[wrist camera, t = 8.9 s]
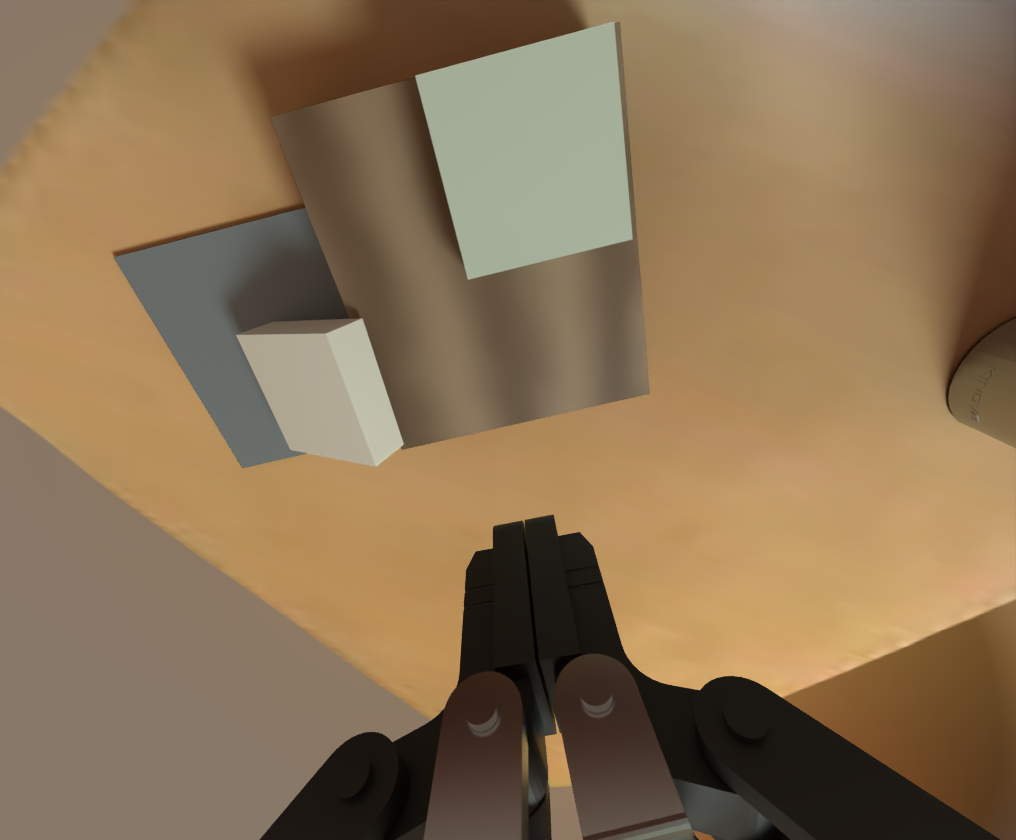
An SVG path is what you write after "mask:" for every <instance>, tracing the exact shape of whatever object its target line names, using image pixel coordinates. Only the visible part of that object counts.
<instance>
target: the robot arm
mask: <svg viewBox="0 0 1016 840" xmlns="http://www.w3.org/2000/svg"><path fill="white" fill-rule="evenodd" d="M948 400H949V408H950V410H951V412H952V414H953V416H954V417H955V418H956V419H957V420H958V421H959V422H961V423H963V424H965V425H967V426H970V427H972V428H974V429H976V430H978V431H980V432H982V433H984V434H987V435H989V436H991V437H993V438H995V439H997V440H999V441H1002V442H1004V443H1006V444H1008V445H1010V446H1012V447H1014V448H1016V318H1015V319H1013V320H1011V321H1009V322H1007V323H1006V324H1004V325H1002V326H1000V327H998V328H997V329H996V330H994V331H993V332H992V333H990V334H989V335H988V336H986V337H985V338H984V339H983V340H982V341H980V342H979V343H978V344H977V345H976V346H975V347H974V348H973V349H972V350H971V351H970V353H969V354H968V355H967V356H966V358H965V359H964V360H963V361H962V363H961V365H960V366H959V368H958V370H957V371H956V373H955V375H954V377H953V380H952V383H951V385H950V390H949V396H948ZM554 714H555V716H554ZM555 717H556V721H557V724H558V728H559V731H560V733H562V738H563V743H564V748H565V753H566V758H567V763H568V768H569V773H570V778H571V783H572V788H573V793H574V798H575V803H576V808H577V813H578V817H579V822H580V828H581V832H582V837H583V840H699V839H698V838H697V837H696V836H695V834H694V832H693V830H695V831H699V832H702V833H705V834H709V835H711V836H712V837H713V838H714V839H715V840H1000V839H998V838H997V837H995V836H993V835H992V834H991V833H989V832H988V831H986V830H984V829H983V828H982V827H980V826H978V825H977V824H975V823H974V822H972V821H971V820H969V819H967V818H966V817H965V816H963V815H962V814H960V813H958V812H957V811H955V810H954V809H952V808H951V807H949V806H948V805H946V804H944V803H943V802H941V801H940V800H938V799H937V798H935V797H934V796H932V795H930V794H929V793H927V792H926V791H924V790H923V789H921V788H920V787H918V786H917V785H915V784H914V783H912V782H911V781H909V780H907V779H906V778H905V777H903V776H901V775H900V774H898V773H897V772H895V771H893V770H892V769H891V768H889V767H888V766H886V765H884V764H883V763H881V762H880V761H878V760H877V759H875V758H874V757H872V756H870V755H869V754H868V753H866V752H864V751H863V750H861V749H860V748H858V747H857V746H855V745H854V744H852V743H851V742H849V741H847V740H846V739H844V738H842V737H841V736H840V735H838V734H837V733H835V732H834V731H832V730H831V729H829V728H827V727H826V726H824V725H823V724H821V723H820V722H818V721H817V720H815V719H814V718H812V717H811V716H809V715H807V714H806V713H804V712H803V711H801V710H800V709H798V708H797V707H795V706H794V705H792V704H791V703H789V702H787V701H786V700H784V699H783V698H781V697H780V696H778V695H777V694H775V693H774V692H772V691H770V690H769V689H767V688H766V687H764V686H762V685H761V684H759V683H757V682H754V681H752V680H749V679H746V678H742V677H735V676H724V677H720V678H716V679H714V680H711V681H710V682H708V683H707V684H705V685H704V686H703V688H702V689H701V690H694V689H689V688H683V687H678V686H672V685H667V684H663V683H660V682H658V681H655V680H653V679H651V678H649V677H647V676H646V675H644V674H643V673H641V672H640V671H639V670H638V669H637V668H636V667H635V666H634V665H633V664H632V663H631V662H630V660H629V659H628V657H627V656H626V654H625V652H624V650H623V647H622V644H621V641H620V637H619V634H618V630H617V627H616V624H615V620H614V617H613V613H612V610H611V606H610V603H609V600H608V596H607V593H606V589H605V586H604V583H603V579H602V576H601V572H600V569H599V566H598V562H597V559H596V555H595V552H594V548H593V546H592V545H591V544H590V543H589V542H588V541H587V540H586V538H585V537H584V536H583V535H582V534H581V533H580V532H577V533H572V534H567V535H561V536H558V534H557V529H556V524H555V519H554V515H548V516H543V517H538V518H533V519H527V520H525V526H524V523H523V521H518V522H512V523H507V524H502V525H497V526H494V527H493V549H487V550H482V551H477V552H475V554H474V556H473V558H472V560H471V562H470V564H469V566H468V567H467V569H466V581H465V597H464V612H463V628H462V643H461V659H460V674H459V680H458V684H457V687H456V688H455V690H454V691H453V692H452V693H451V695H450V697H449V699H448V701H447V703H446V706H445V708H444V709H443V710H442V711H441V713H440V714H439V715H438V716H436V717H435V718H434V719H433V720H431V721H430V722H428V723H427V724H426V725H423V726H422V727H420V728H418V729H416V730H414V731H412V732H411V733H409V734H407V735H405V736H403V737H401V738H400V739H398V740H396V741H394V742H391V740H390V739H389V738H387V737H386V736H385V735H383V734H380V733H376V732H366V733H362V734H359V735H356V736H354V737H352V738H351V739H349V740H347V741H346V742H344V743H343V744H342V745H341V746H340V747H339V748H337V749H336V750H335V752H334V753H333V754H332V755H331V756H330V757H329V758H328V759H327V761H326V762H325V763H324V764H323V766H322V767H321V768H320V769H319V770H318V771H317V772H316V774H315V775H314V776H313V777H312V778H311V780H310V781H309V782H308V783H307V784H306V786H305V787H304V788H303V789H302V790H301V791H300V793H299V794H298V795H297V796H296V797H295V798H294V800H293V801H292V802H291V803H290V804H289V806H288V807H287V808H286V809H285V810H284V812H283V813H282V814H281V815H280V816H279V818H278V819H277V820H276V821H275V822H274V823H273V824H272V826H271V827H270V828H269V829H268V830H267V832H266V833H265V834H264V835H263V836H262V838H261V839H260V840H552V838H551V837H552V836H551V810H550V786H549V779H548V765H547V755H546V745H545V736H547V735H553V734H557V732H556V724H555Z"/></svg>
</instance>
